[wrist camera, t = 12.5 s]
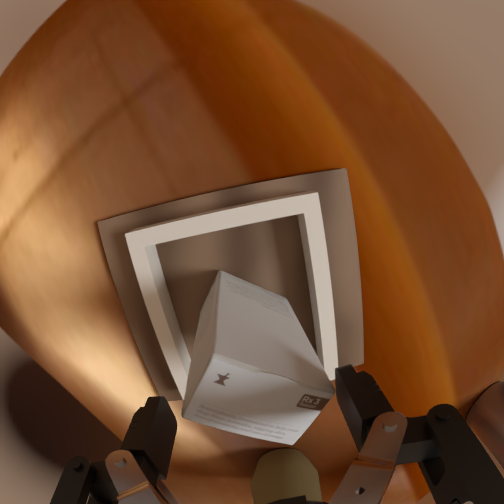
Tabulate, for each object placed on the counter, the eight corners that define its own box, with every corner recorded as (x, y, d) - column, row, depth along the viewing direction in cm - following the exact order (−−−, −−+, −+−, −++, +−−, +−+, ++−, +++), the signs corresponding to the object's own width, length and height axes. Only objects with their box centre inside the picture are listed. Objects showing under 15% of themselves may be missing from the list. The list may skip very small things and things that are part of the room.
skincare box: (199, 313, 23) (171, 422, 11) (220, 264, 22) (204, 351, 10) (267, 339, 24) (290, 452, 12) (292, 294, 23) (339, 393, 11)
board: (342, 168, 22) (346, 168, 21) (360, 359, 26) (363, 363, 25) (101, 220, 22) (97, 222, 21) (164, 396, 26) (162, 401, 25)
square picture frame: (308, 191, 21) (318, 192, 19) (330, 362, 25) (338, 378, 22) (136, 228, 21) (124, 233, 19) (189, 389, 25) (186, 406, 22)
